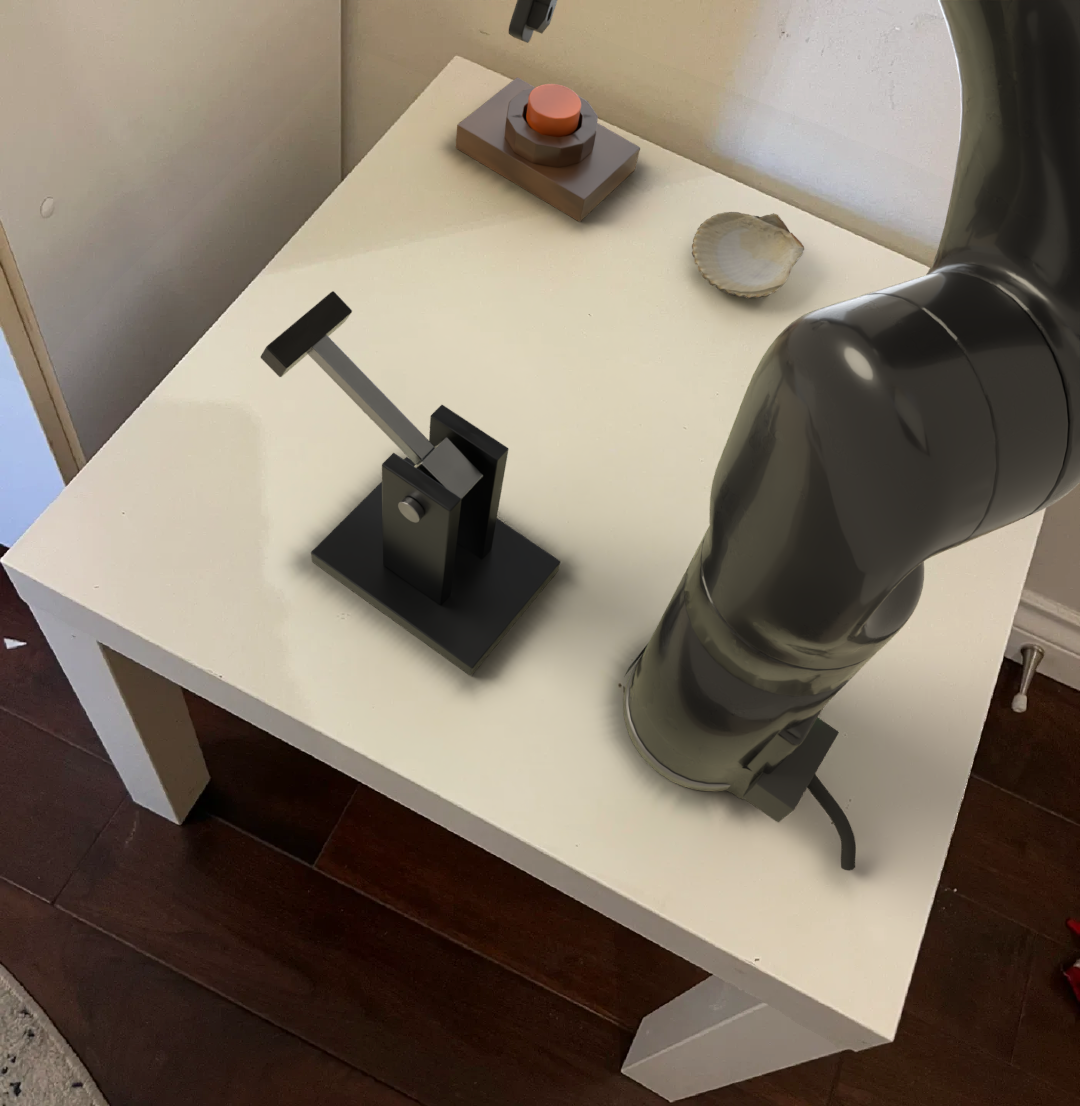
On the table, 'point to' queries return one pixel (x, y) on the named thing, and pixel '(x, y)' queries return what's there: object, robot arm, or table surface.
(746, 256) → the seashell
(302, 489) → the table surface
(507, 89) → the button base
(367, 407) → the switch lever
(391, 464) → the switch bracket
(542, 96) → the button
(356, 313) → the table surface
